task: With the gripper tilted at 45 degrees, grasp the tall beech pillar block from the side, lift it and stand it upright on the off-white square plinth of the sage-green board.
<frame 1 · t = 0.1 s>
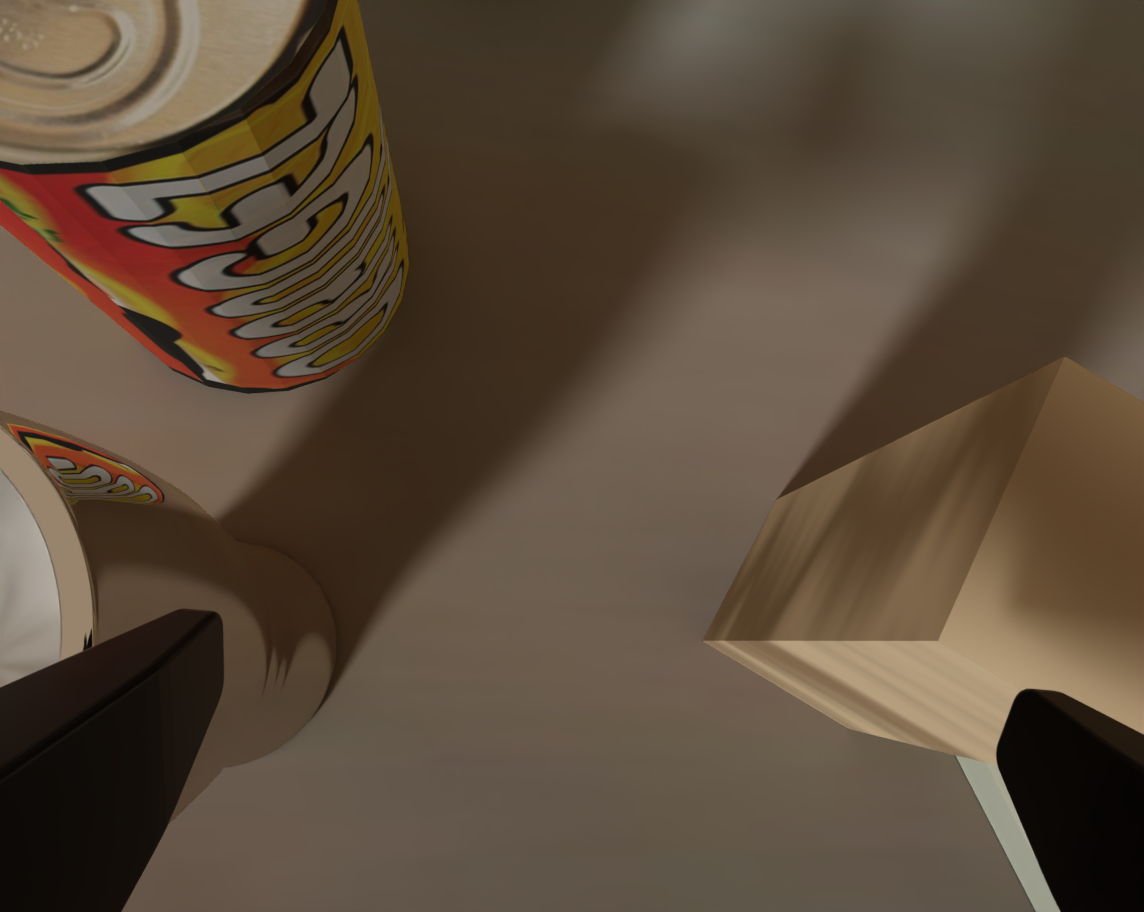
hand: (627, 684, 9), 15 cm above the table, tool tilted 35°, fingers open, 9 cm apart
beer glass: (229, 651, 23), on the table
pillar block: (811, 610, 24), on the table
beverage can: (266, 260, 25), on the table
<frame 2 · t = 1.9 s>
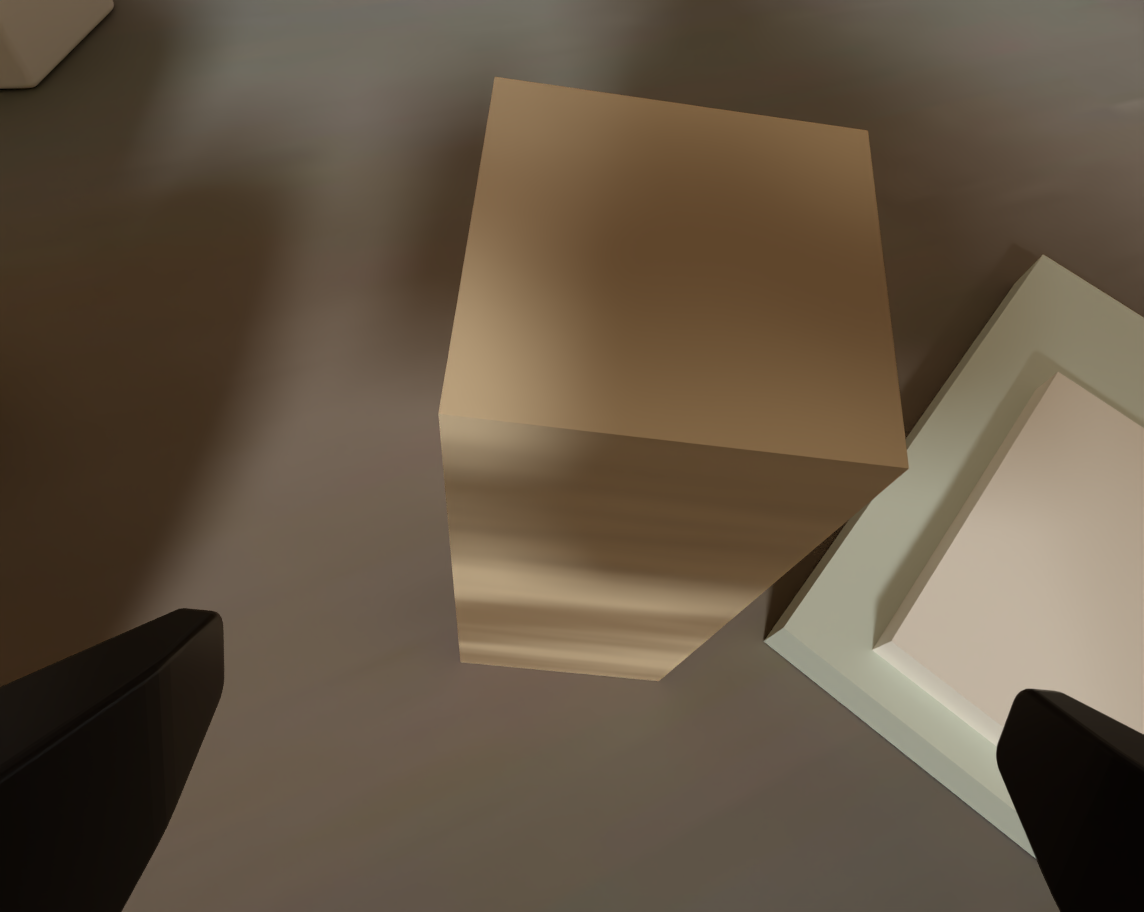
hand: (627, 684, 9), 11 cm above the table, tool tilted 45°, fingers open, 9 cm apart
pillar block: (568, 575, 21), on the table
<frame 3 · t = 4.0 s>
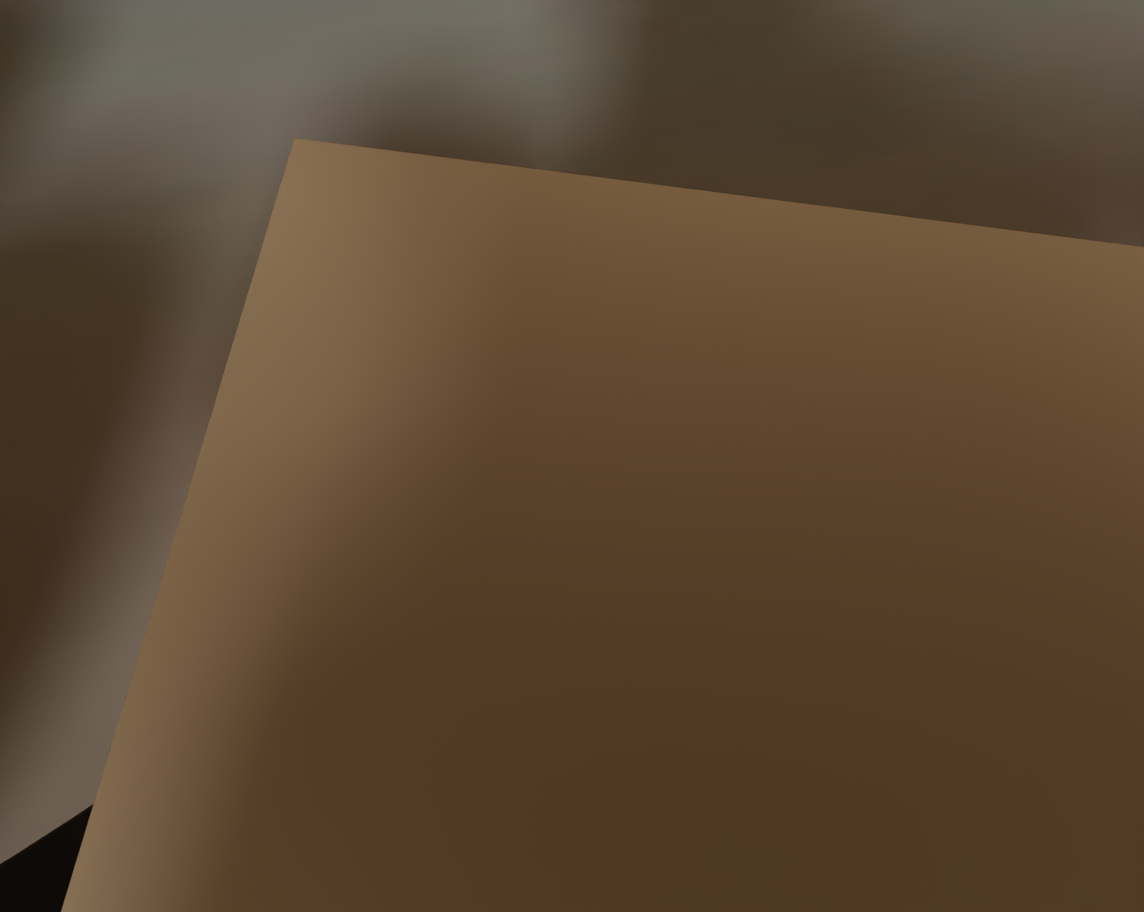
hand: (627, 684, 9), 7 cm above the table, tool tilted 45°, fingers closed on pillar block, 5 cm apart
pillar block: (559, 827, 14), on the table, touching gripper
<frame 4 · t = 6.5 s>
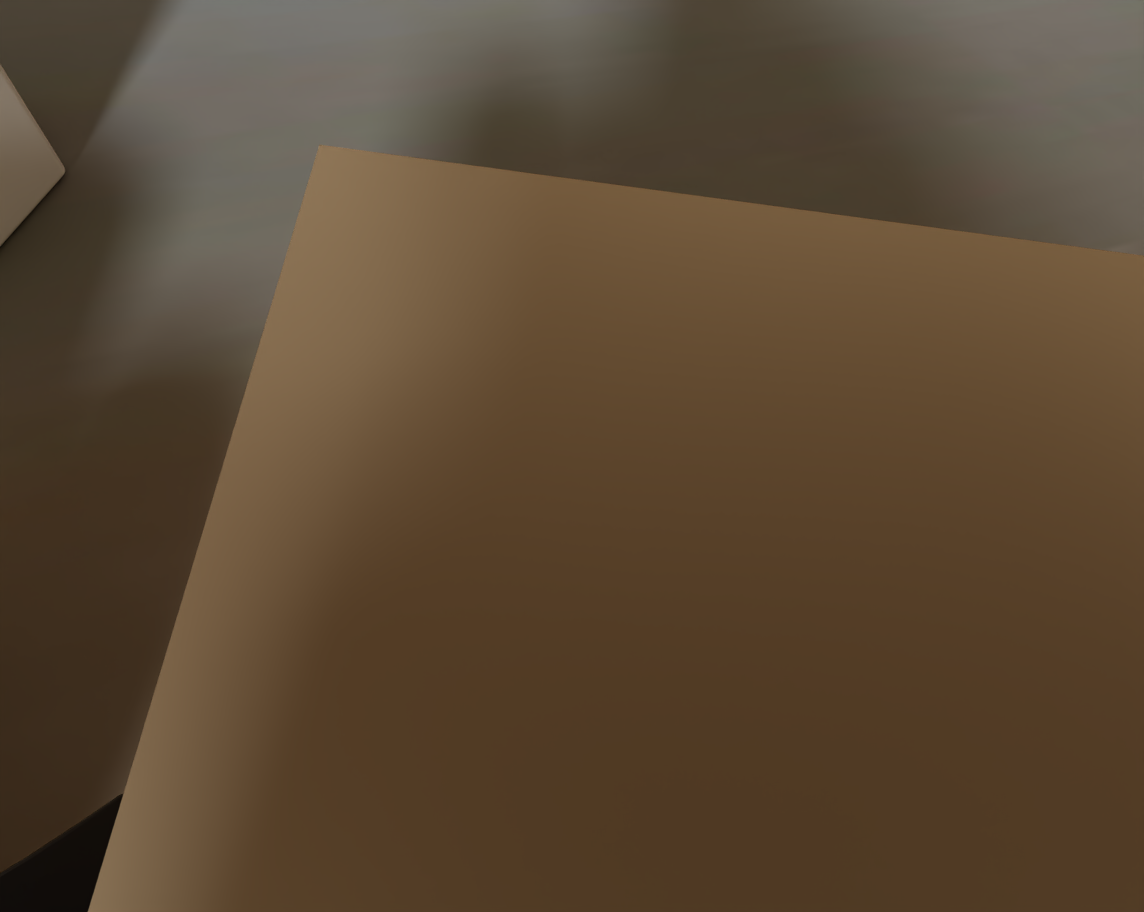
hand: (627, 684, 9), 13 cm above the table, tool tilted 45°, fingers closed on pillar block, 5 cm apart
pillar block: (564, 827, 14), point 7 cm above the table, touching gripper
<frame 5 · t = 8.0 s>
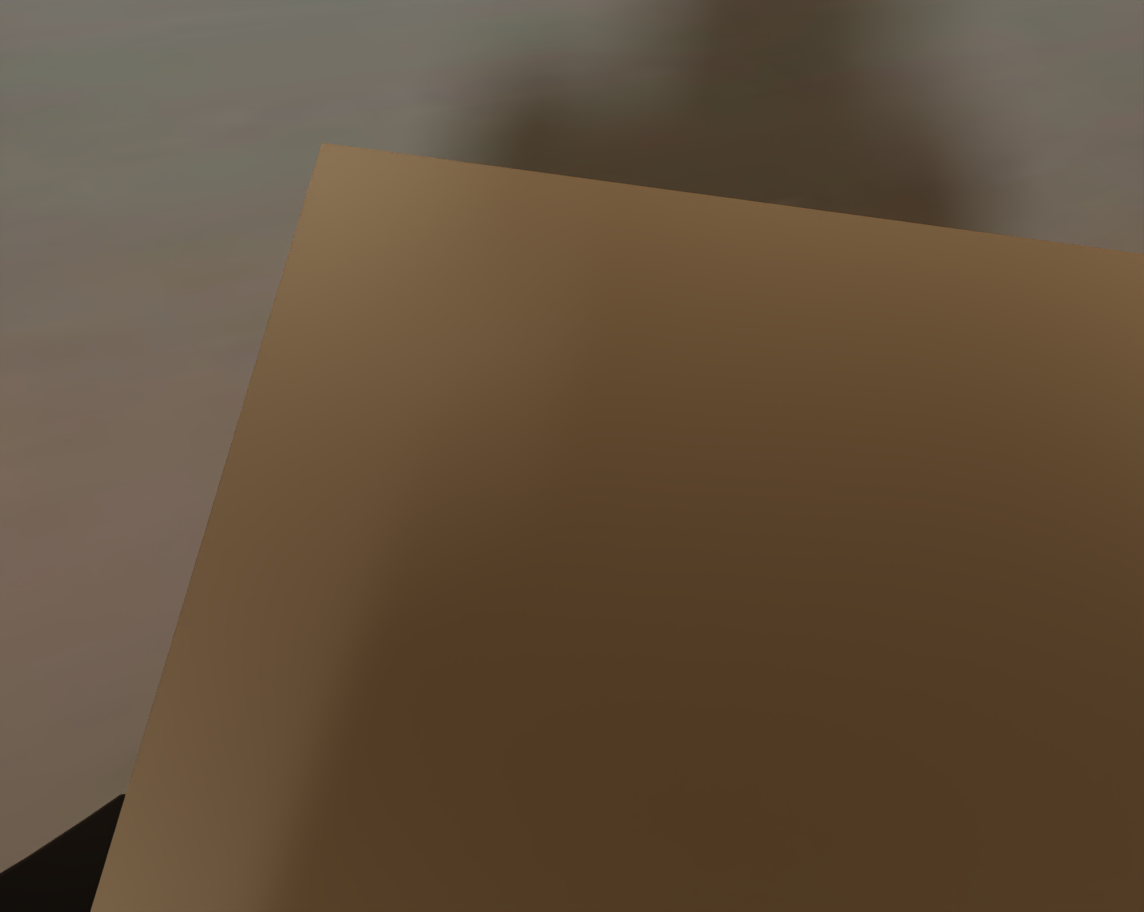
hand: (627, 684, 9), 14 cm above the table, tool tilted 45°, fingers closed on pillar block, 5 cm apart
pillar block: (564, 826, 14), point 7 cm above the table, touching gripper
when the fingers open (10 cm above the table, at t = 9.3 s): pillar block stays where it is, resting on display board.
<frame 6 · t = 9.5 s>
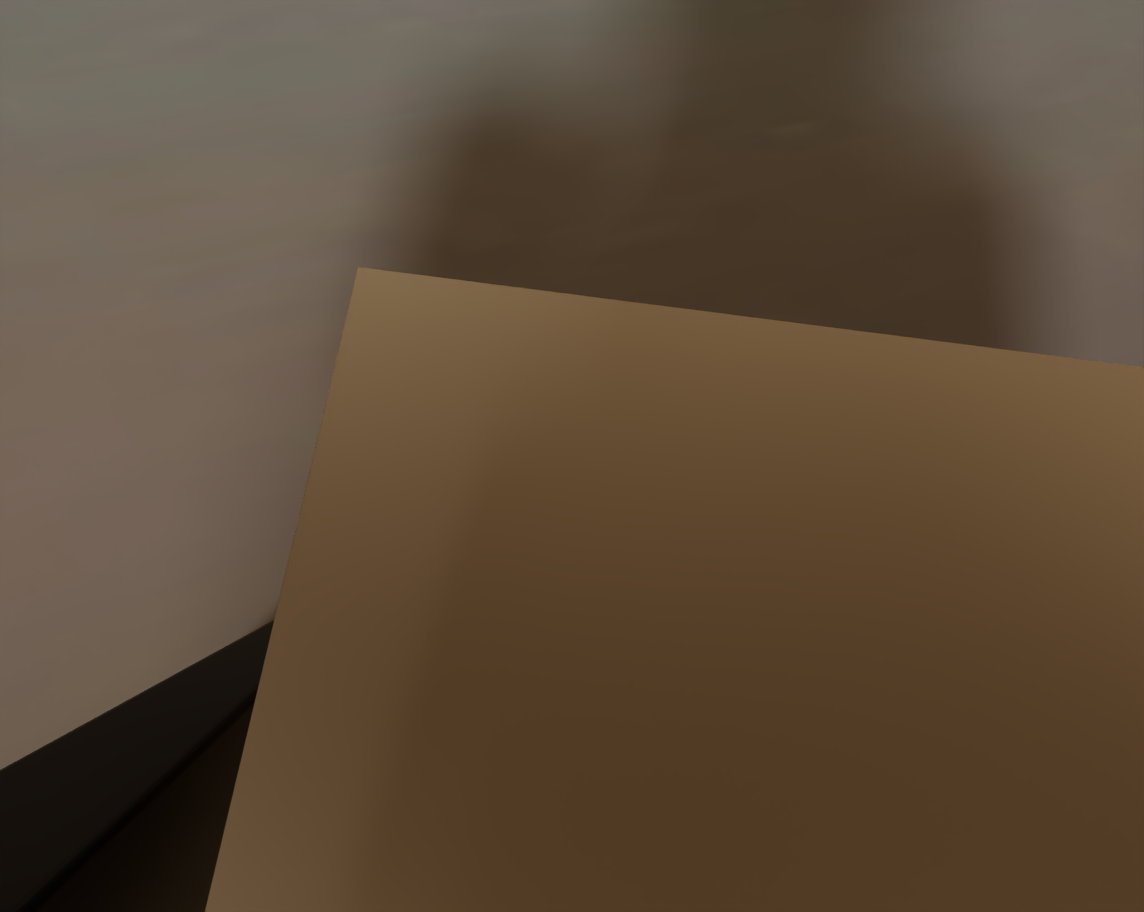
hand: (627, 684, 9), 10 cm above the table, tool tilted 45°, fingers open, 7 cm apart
pillar block: (556, 828, 15), point 3 cm above the table, touching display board
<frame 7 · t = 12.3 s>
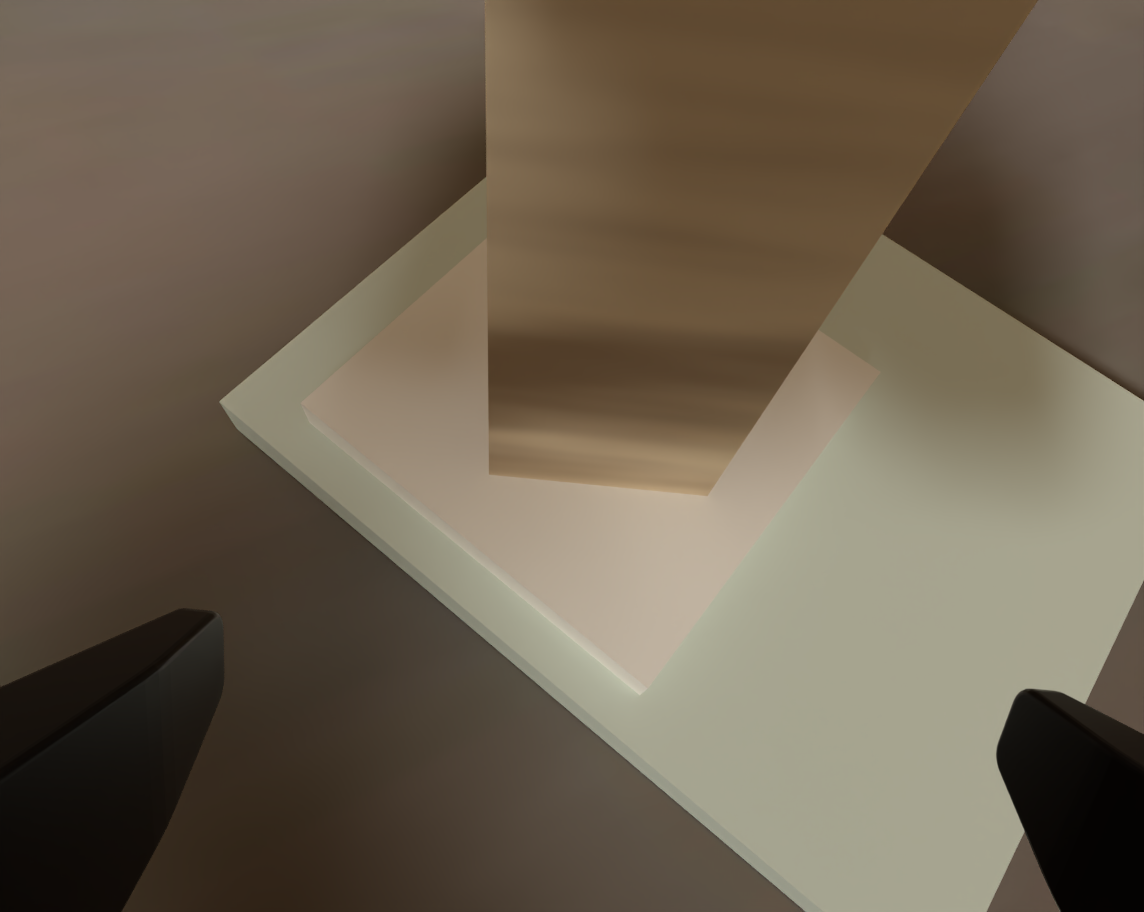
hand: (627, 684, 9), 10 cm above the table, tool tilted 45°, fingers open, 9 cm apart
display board: (724, 447, 22), on the table
pillar block: (604, 389, 19), point 2 cm above the table, touching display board
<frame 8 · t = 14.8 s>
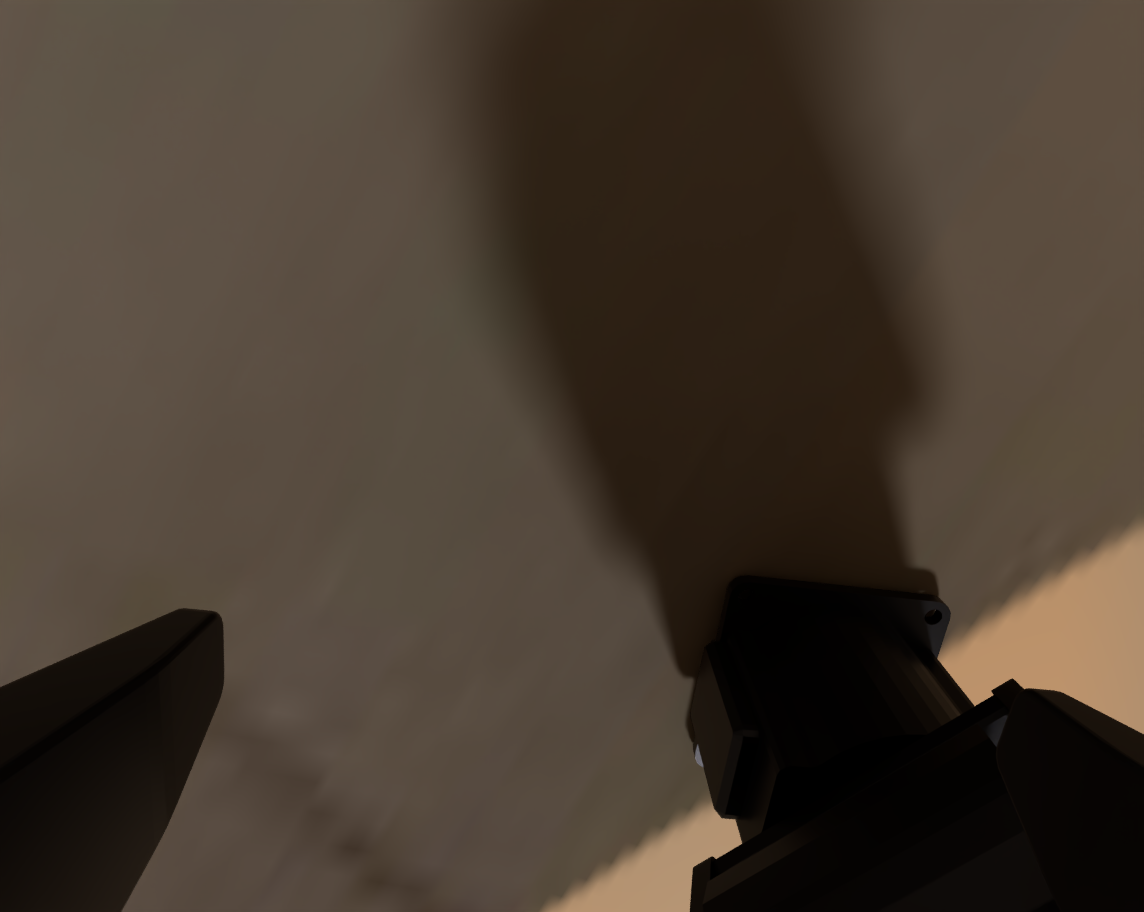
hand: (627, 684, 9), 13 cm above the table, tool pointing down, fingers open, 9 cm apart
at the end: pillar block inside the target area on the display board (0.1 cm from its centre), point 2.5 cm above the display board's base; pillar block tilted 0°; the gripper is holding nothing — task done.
